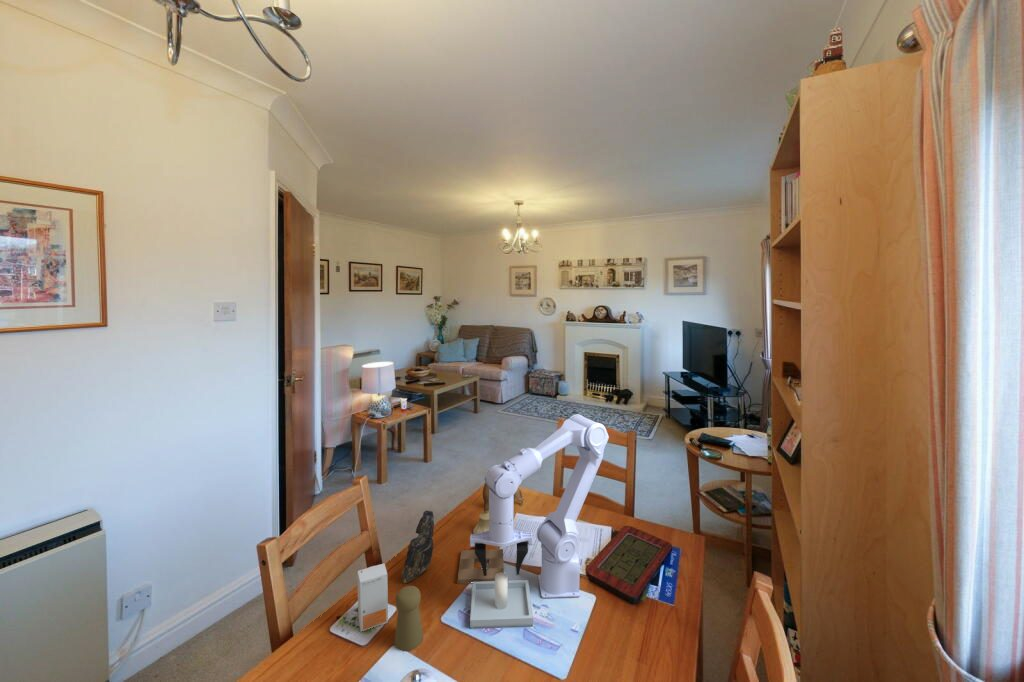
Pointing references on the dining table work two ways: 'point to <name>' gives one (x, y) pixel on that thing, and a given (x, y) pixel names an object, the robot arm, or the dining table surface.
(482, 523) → the hand bell
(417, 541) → the statue
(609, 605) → the dining table surface
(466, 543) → the dining table surface
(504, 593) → the dowel
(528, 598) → the grey tray
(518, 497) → the lion figurine
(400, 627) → the olive game pawn
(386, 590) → the skincare box
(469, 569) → the brown square board
